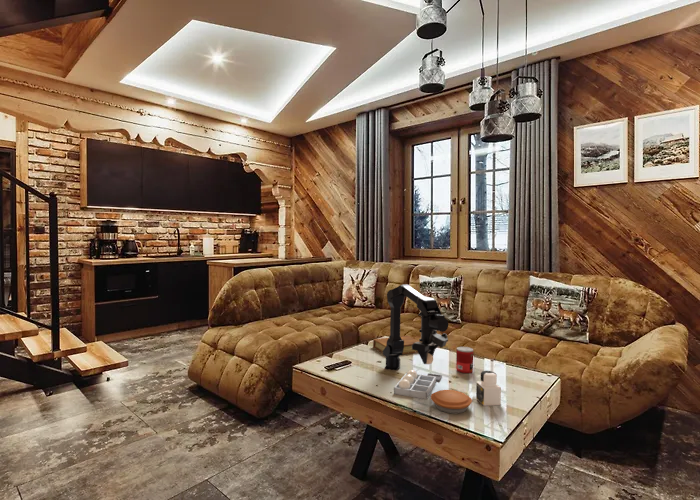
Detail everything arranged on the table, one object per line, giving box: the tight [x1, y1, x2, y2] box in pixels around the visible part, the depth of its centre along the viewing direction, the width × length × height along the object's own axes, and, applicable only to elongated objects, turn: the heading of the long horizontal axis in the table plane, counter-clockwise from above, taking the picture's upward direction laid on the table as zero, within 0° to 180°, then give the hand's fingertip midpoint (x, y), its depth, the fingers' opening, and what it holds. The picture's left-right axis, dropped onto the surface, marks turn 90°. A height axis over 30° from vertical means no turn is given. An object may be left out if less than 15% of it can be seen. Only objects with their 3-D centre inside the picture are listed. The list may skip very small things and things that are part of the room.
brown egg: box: [425, 353, 434, 365], centre depth 173 cm, size 5×5×5 cm
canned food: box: [455, 346, 474, 374], centre depth 194 cm, size 8×8×11 cm
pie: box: [430, 389, 473, 414], centre depth 151 cm, size 15×16×5 cm
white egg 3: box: [398, 379, 410, 389], centre depth 166 cm, size 5×5×5 cm
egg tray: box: [393, 372, 437, 400], centre depth 171 cm, size 14×20×3 cm
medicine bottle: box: [475, 370, 502, 407], centre depth 156 cm, size 7×7×12 cm
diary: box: [372, 335, 420, 355], centre depth 231 cm, size 23×19×6 cm
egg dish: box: [427, 372, 443, 382], centre depth 183 cm, size 6×6×1 cm
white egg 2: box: [402, 374, 414, 384], centre depth 172 cm, size 5×5×5 cm
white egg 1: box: [406, 369, 418, 379], centre depth 178 cm, size 5×5×5 cm
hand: (427, 362), depth 173 cm, fingers closed on brown egg, 5 cm apart
